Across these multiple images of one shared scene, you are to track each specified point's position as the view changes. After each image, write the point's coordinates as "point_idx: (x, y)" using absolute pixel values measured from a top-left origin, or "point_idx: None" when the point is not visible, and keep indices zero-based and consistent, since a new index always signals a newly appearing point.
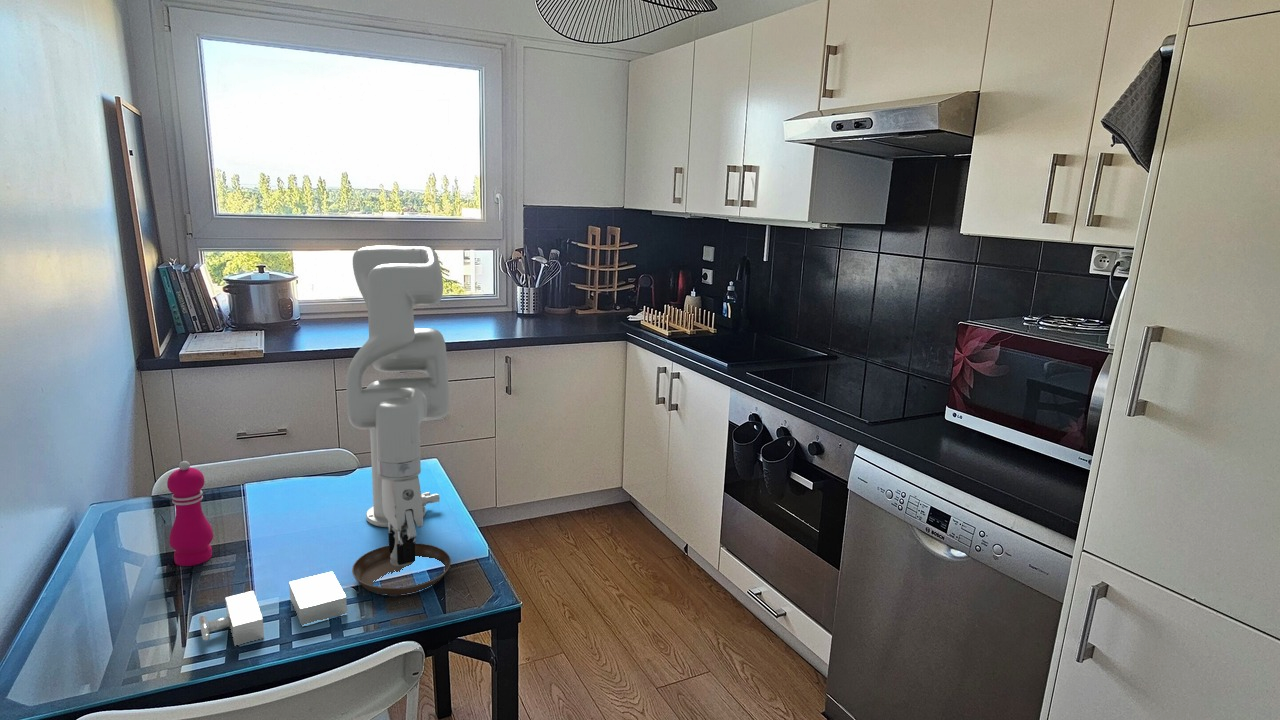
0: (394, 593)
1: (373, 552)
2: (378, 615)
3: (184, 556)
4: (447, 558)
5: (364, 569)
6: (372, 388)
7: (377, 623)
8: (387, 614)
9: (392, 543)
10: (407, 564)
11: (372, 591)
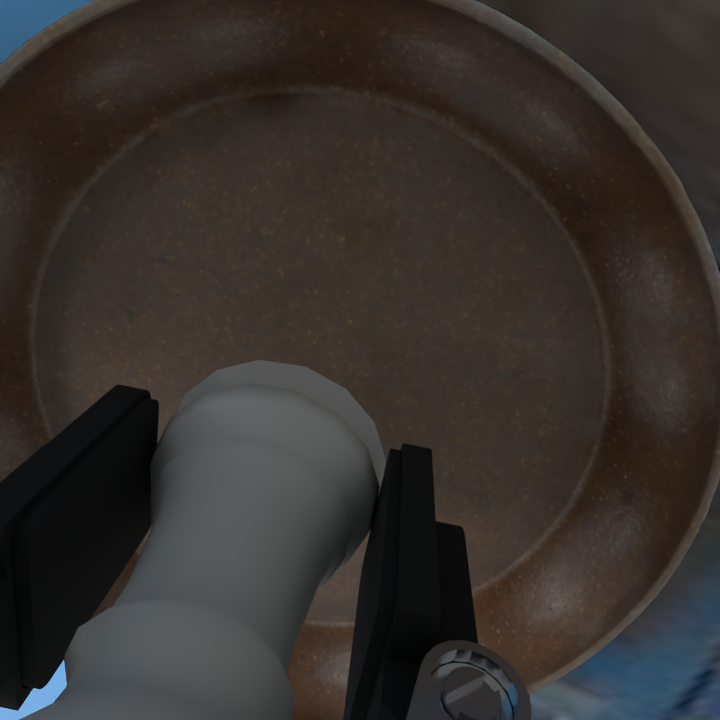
0: (547, 591)
1: None
2: (617, 682)
3: None
4: (427, 16)
5: None
6: None
7: (682, 716)
8: (650, 653)
9: (103, 583)
10: (383, 472)
11: None
